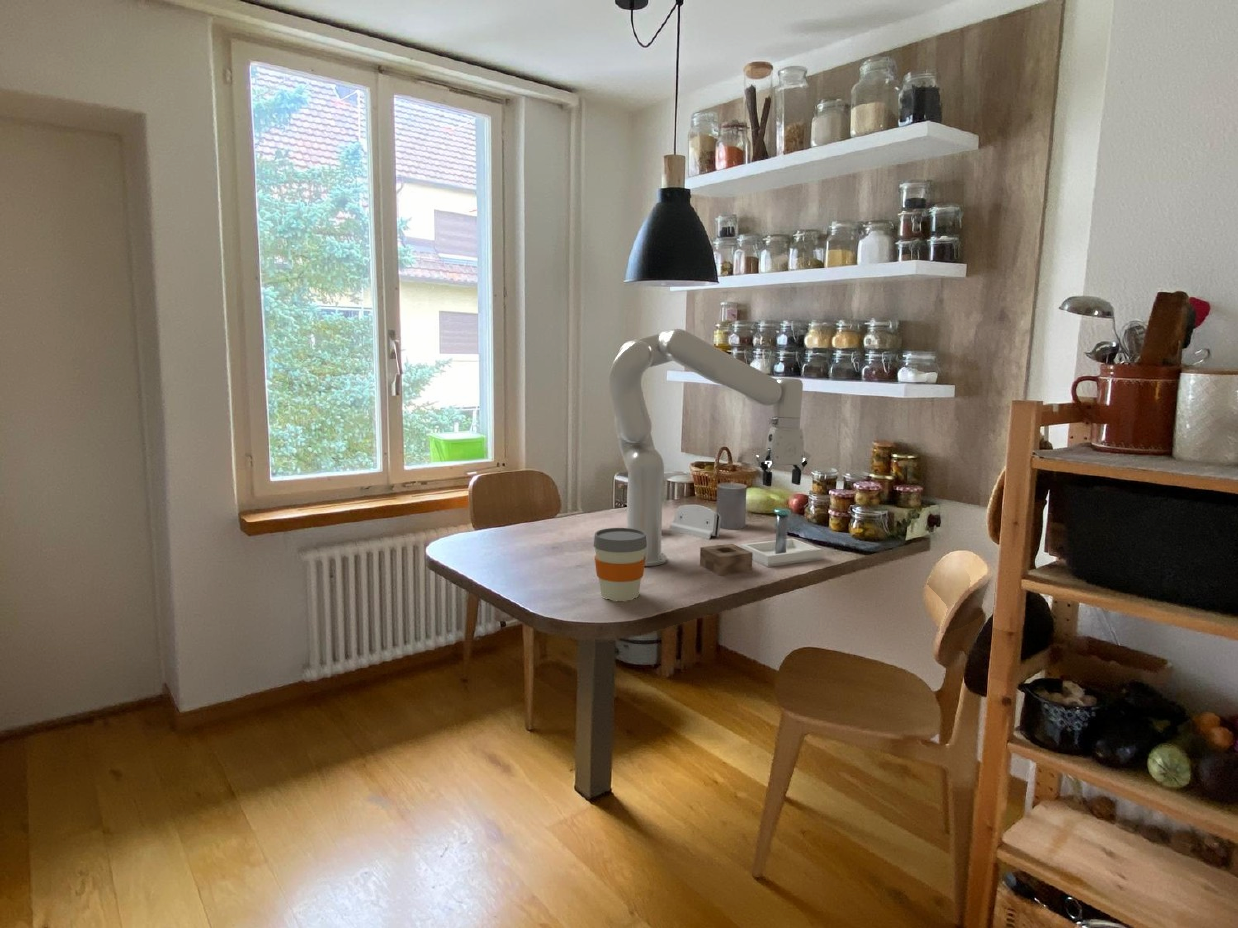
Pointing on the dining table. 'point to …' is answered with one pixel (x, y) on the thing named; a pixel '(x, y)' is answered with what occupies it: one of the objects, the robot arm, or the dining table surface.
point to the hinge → (696, 521)
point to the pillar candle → (731, 505)
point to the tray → (794, 553)
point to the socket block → (726, 559)
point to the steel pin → (781, 529)
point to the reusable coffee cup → (620, 562)
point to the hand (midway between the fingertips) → (781, 484)
